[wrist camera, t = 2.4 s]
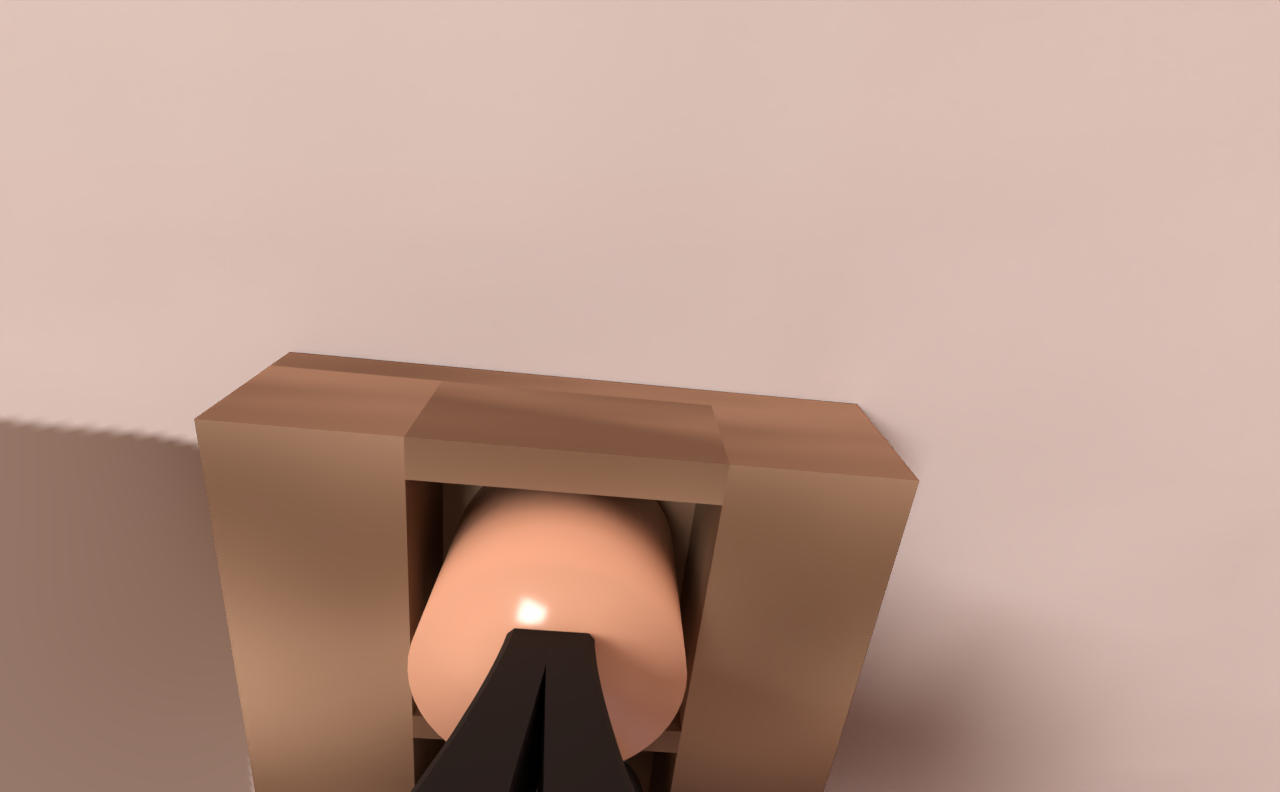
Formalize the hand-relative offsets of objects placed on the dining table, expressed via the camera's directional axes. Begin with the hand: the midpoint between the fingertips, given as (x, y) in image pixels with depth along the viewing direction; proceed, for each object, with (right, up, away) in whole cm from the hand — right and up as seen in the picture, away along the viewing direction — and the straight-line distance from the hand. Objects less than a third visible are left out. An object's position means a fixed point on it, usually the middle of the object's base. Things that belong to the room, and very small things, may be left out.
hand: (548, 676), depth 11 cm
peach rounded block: (0, +1, +3) cm, 3 cm away
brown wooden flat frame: (-1, -4, +7) cm, 8 cm away
